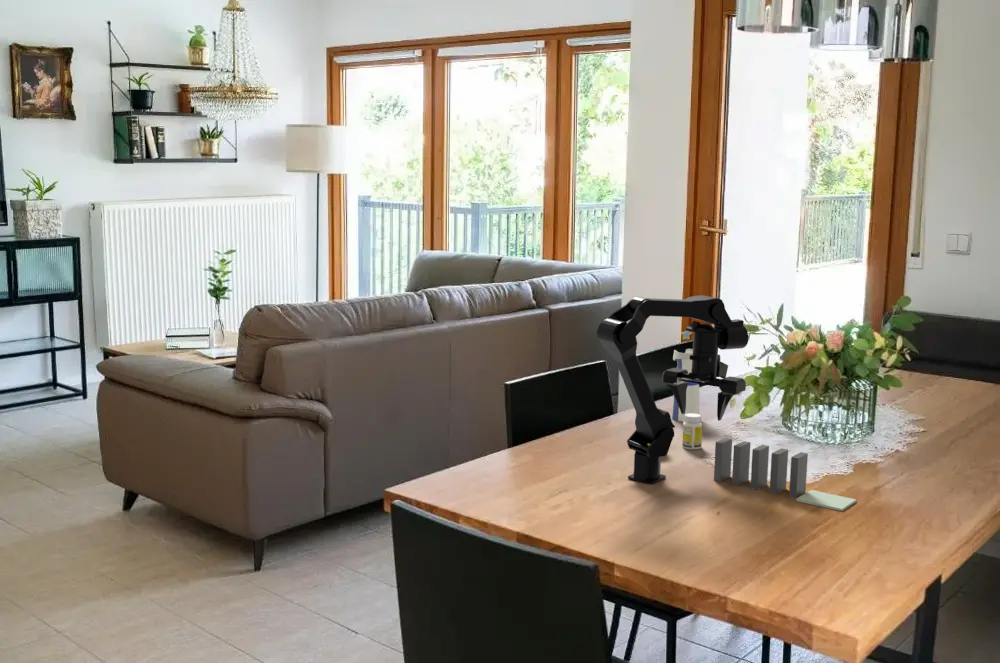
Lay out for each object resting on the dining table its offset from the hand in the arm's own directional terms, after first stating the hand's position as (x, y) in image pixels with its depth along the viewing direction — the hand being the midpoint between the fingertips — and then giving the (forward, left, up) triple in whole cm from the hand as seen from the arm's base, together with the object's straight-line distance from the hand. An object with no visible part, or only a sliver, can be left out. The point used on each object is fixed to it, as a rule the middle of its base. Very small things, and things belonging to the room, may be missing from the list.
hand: (701, 416), depth 242 cm
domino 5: (-2, -25, -13) cm, 28 cm away
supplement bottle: (+16, +11, -13) cm, 24 cm away
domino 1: (-2, -7, -13) cm, 15 cm away
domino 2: (-2, -12, -13) cm, 17 cm away
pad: (-2, -32, -13) cm, 34 cm away
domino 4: (-2, -21, -13) cm, 24 cm away
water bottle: (+41, +27, -13) cm, 51 cm away
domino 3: (-2, -16, -13) cm, 21 cm away
